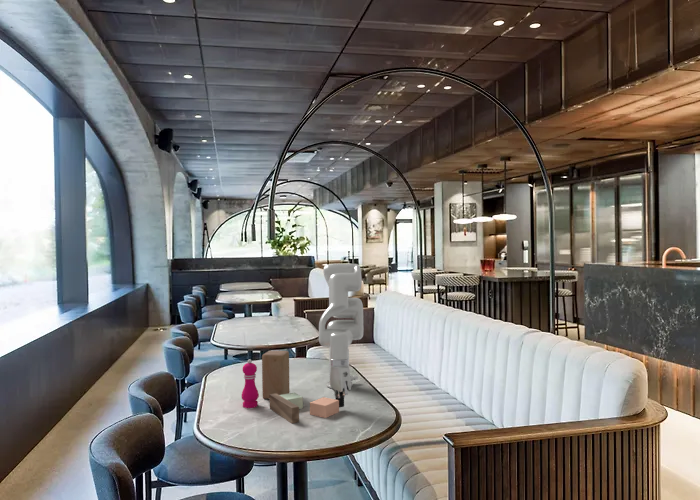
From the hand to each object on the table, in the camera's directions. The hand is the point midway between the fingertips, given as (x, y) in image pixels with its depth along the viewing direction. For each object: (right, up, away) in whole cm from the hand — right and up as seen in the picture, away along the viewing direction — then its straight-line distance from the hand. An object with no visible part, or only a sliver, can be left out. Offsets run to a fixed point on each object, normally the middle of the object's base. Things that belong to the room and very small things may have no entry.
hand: (339, 406), depth 225 cm
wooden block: (-29, -2, +21) cm, 36 cm away
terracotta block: (-6, -2, -3) cm, 7 cm away
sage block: (-22, -2, +5) cm, 22 cm away
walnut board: (-23, -2, -5) cm, 23 cm away
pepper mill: (-38, -2, +7) cm, 39 cm away
